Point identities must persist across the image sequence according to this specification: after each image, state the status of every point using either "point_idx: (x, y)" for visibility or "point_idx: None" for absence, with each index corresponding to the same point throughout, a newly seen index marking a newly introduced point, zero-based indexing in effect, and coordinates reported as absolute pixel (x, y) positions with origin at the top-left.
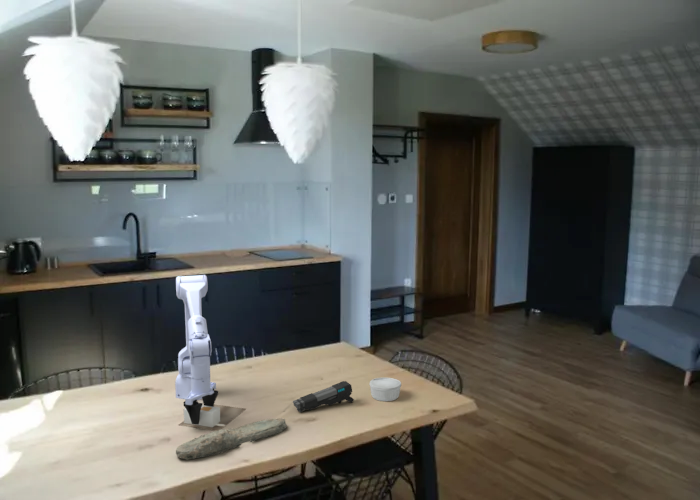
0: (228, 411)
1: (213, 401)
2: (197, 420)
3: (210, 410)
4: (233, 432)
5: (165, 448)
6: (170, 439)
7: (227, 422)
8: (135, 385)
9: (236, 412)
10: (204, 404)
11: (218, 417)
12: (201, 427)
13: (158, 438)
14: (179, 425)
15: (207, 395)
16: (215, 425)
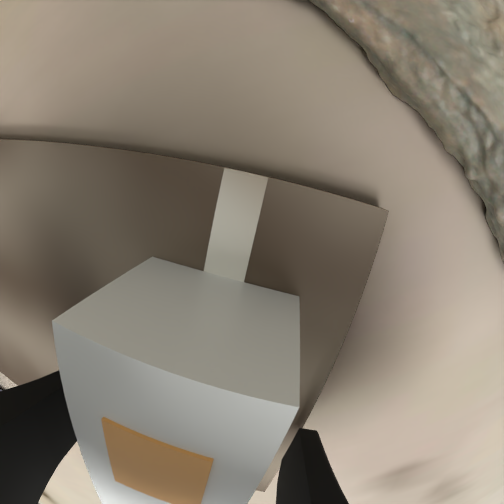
0: (5, 241)
1: (6, 415)
2: (326, 460)
3: (185, 438)
4: None
5: (491, 438)
6: (407, 465)
7: (161, 174)
8: (40, 497)
9: (6, 177)
10: (60, 453)
11: (158, 284)
12: (301, 387)
13: (382, 497)
14: (267, 486)
15: (2, 495)
16: (247, 280)
